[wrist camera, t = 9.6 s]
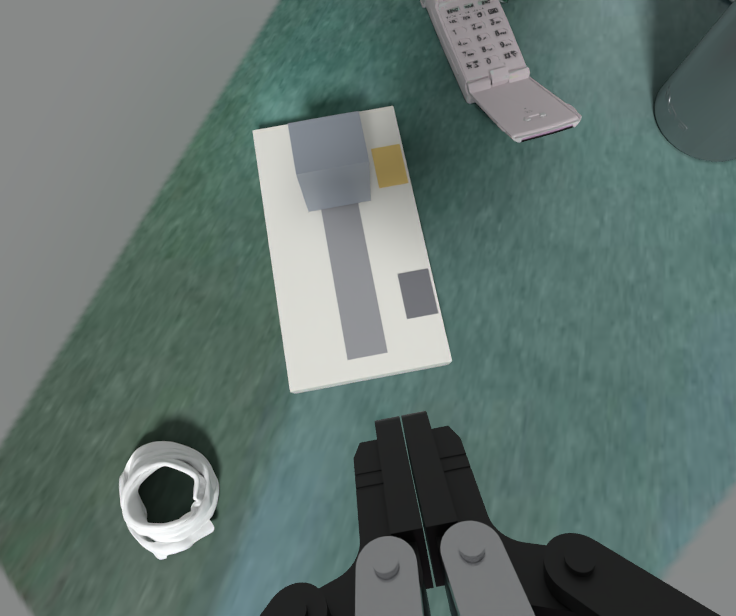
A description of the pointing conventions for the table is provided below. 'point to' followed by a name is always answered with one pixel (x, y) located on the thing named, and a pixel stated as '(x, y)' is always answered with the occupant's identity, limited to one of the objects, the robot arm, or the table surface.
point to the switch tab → (331, 160)
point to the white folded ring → (189, 525)
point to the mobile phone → (496, 69)
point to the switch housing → (350, 268)
